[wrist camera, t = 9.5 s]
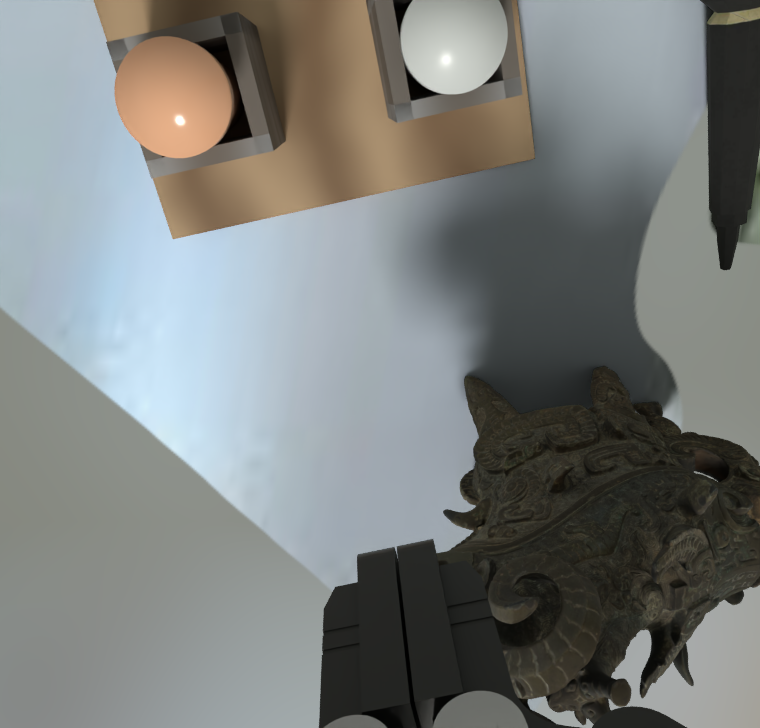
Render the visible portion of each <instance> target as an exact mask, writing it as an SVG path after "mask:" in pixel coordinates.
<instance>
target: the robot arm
mask: <svg viewBox="0 0 760 728" xmlns="http://www.w3.org/2000/svg"><path fill="white" fill-rule="evenodd" d="M397 554H398V558H397ZM397 554H396V551H395V548H394V547H392V548H387V549H382V550H377V551H372V552H368V553H363V554H358V556H357V571H358V582H357V583H353V584H348V585H343V586H338V587H335V589H334V590H333V592H332V594H331V596H330V598H329V600H328V602H327V604H326V606H325V608H324V618H323V619H324V620H323V633H324V636H323V644H322V645H323V646H322V651H323V655H322V669H321V694H320V719H319V728H579V727H571V726H563V725H558V724H554V723H551V722H548V721H546V720H544V719H542V718H539V717H538V716H536V715H535V714H533V713H532V712H530V711H529V710H528V709H527V708H526V707H525V706H524V705H523V704H522V702H521V701H520V700H519V698H518V697H517V695H516V693H515V690H514V688H513V685H512V681H511V678H510V674H509V671H508V667H507V664H506V660H505V657H504V653H503V650H502V646H501V643H500V639H499V635H498V632H497V628H496V625H495V621H494V619H493V614H492V611H491V607H490V604H489V601H488V597H487V593H486V590H485V586H484V583H483V579H482V576H481V575H480V574H479V573H478V572H477V571H476V570H475V569H474V568H473V567H472V566H471V565H470V564H469V563H468V562H467V561H466V560H465V561H460V562H455V563H450V564H445V565H440V566H439V563H438V559H437V554H436V550H435V545H434V541H433V539H430V540H426V541H421V542H416V543H411V544H406V545H401V546H397ZM592 728H687V727H685V726H683V725H681V724H680V723H678V722H676V721H675V720H673V719H671V718H669V717H668V716H666V715H664V714H662V713H660V712H657V711H654V710H652V709H648V708H643V707H622V708H618V709H614V710H612V711H610V712H607V713H606V714H604V715H603V716H601V717H600V718H599V719H598V720H597V721H596V722H595V724H594V725H593V727H592Z"/></svg>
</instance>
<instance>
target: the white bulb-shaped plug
mask: <svg viewBox="0 0 760 728" xmlns="http://www.w3.org/2000/svg"><path fill="white" fill-rule="evenodd" d="M507 37H508V29H507V21H506V16H505V13H504V10H503V8H502V5H501V3H500V2H499V0H413V1H412V2H411V3H410V5H409V6H408V8H407V10H406V12H405V15H404V17H403V20H402V24H401V29H400V49H401V54H402V58H403V61H404V66H405V70H406V72H407V73H408V74H409V75H410V76H411V77H412V78H414V79H415V80H416V81H417V82H418V83H420V84H421V85H422V86H424V87H425V88H427V89H429V90H431V91H433V92H437V93H440V94H462V93H466V92H469V91H471V90H474V89H476V88H478V87H479V86H481V85H482V84H483V83H485V82H486V81H487V80H488V79H489V78H490V77H491V76H492V75H493V74H494V72H495V71H496V70H497V68H498V66H499V65H500V63H501V61H502V58H503V56H504V53H505V50H506V45H507Z"/></svg>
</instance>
